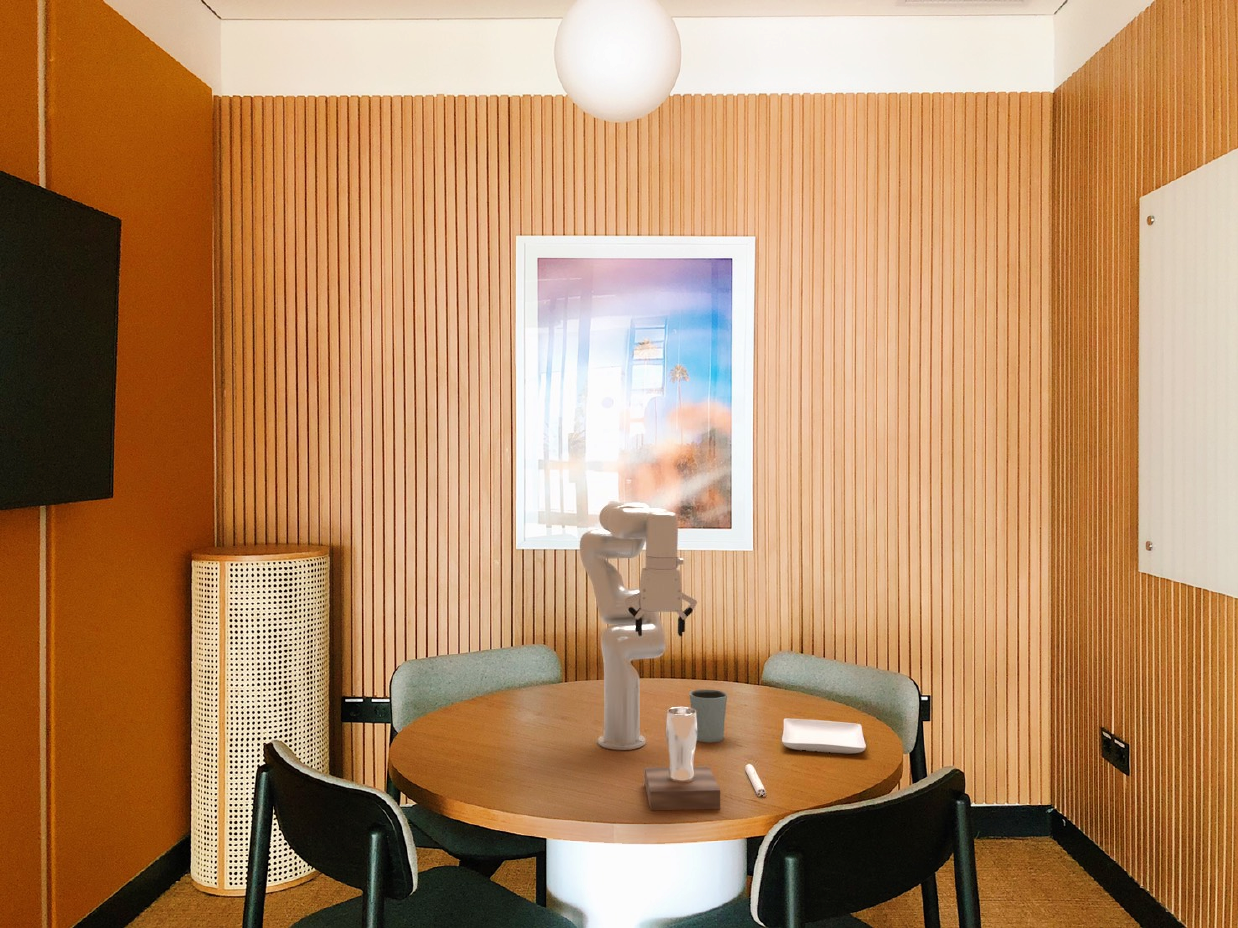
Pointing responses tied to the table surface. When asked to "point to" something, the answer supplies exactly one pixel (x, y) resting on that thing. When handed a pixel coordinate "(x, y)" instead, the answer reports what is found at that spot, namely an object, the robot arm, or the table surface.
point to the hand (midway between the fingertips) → (659, 634)
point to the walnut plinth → (681, 790)
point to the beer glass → (681, 743)
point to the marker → (755, 780)
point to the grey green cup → (709, 714)
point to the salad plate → (823, 736)
